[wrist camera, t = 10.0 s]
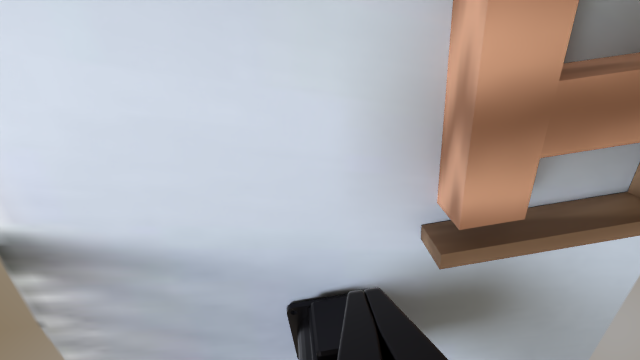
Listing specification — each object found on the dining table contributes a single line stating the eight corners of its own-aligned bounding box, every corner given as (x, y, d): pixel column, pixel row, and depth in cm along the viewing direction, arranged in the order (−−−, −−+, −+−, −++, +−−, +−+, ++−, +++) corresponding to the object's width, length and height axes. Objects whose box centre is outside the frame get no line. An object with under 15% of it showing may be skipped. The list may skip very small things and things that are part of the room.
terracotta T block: (607, 175, 22) (652, 197, 19) (437, 202, 21) (459, 230, 19) (685, -35, 16) (765, -43, 13) (453, -5, 15) (489, -7, 13)
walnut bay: (637, 203, 23) (682, 228, 21) (420, 238, 23) (439, 269, 20) (776, -109, 15) (883, -134, 12) (438, -69, 14) (474, -86, 11)
